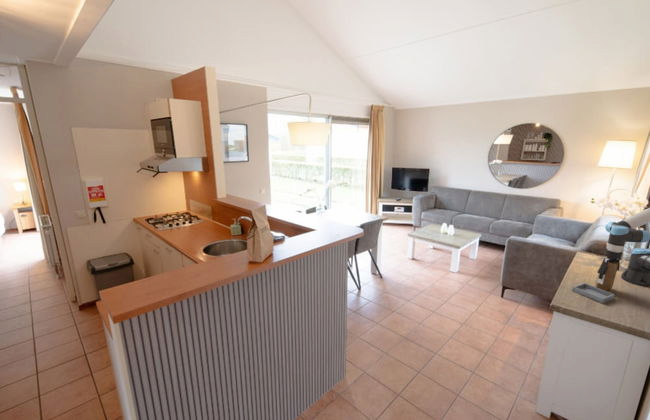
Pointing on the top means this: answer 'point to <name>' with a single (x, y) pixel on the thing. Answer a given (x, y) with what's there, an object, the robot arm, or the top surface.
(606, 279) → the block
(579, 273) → the top surface
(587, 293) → the tray
